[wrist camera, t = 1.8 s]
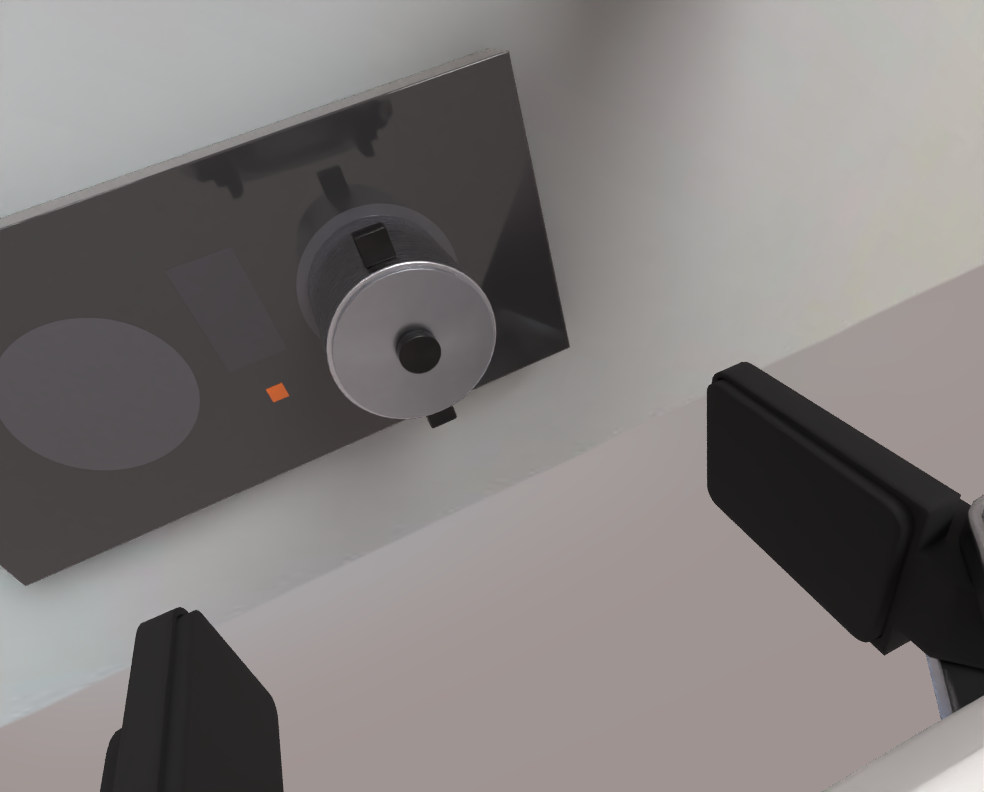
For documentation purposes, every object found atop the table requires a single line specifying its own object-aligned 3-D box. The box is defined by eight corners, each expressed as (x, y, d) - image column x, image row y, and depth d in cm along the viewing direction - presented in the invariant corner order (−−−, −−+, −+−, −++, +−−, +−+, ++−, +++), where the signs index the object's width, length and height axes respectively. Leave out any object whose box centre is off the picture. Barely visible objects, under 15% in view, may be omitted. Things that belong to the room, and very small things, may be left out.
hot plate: (488, 48, 26) (509, 49, 24) (551, 329, 35) (570, 347, 33) (-242, 302, 22) (-289, 330, 20) (38, 551, 31) (25, 587, 29)
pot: (416, 167, 26) (470, 208, 20) (471, 338, 31) (526, 410, 25) (269, 222, 25) (280, 282, 19) (351, 389, 30) (380, 476, 24)
